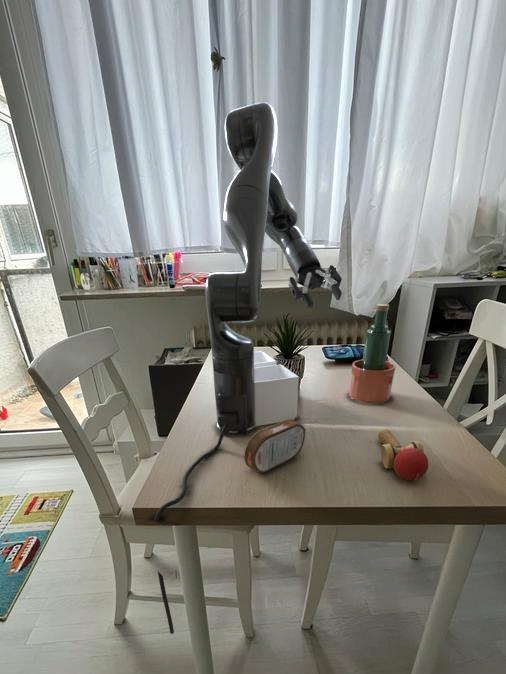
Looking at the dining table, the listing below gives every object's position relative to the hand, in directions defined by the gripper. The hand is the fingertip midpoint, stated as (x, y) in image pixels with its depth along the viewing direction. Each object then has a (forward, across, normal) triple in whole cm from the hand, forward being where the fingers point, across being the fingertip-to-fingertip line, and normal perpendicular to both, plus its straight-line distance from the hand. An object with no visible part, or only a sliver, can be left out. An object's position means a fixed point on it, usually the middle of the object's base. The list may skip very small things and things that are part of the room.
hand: (325, 301), depth 109 cm
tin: (+44, -35, -13) cm, 57 cm away
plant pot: (+28, +2, +8) cm, 29 cm away
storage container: (+20, -28, +8) cm, 35 cm away
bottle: (+28, +2, +8) cm, 29 cm away
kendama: (+52, -12, -14) cm, 56 cm away
